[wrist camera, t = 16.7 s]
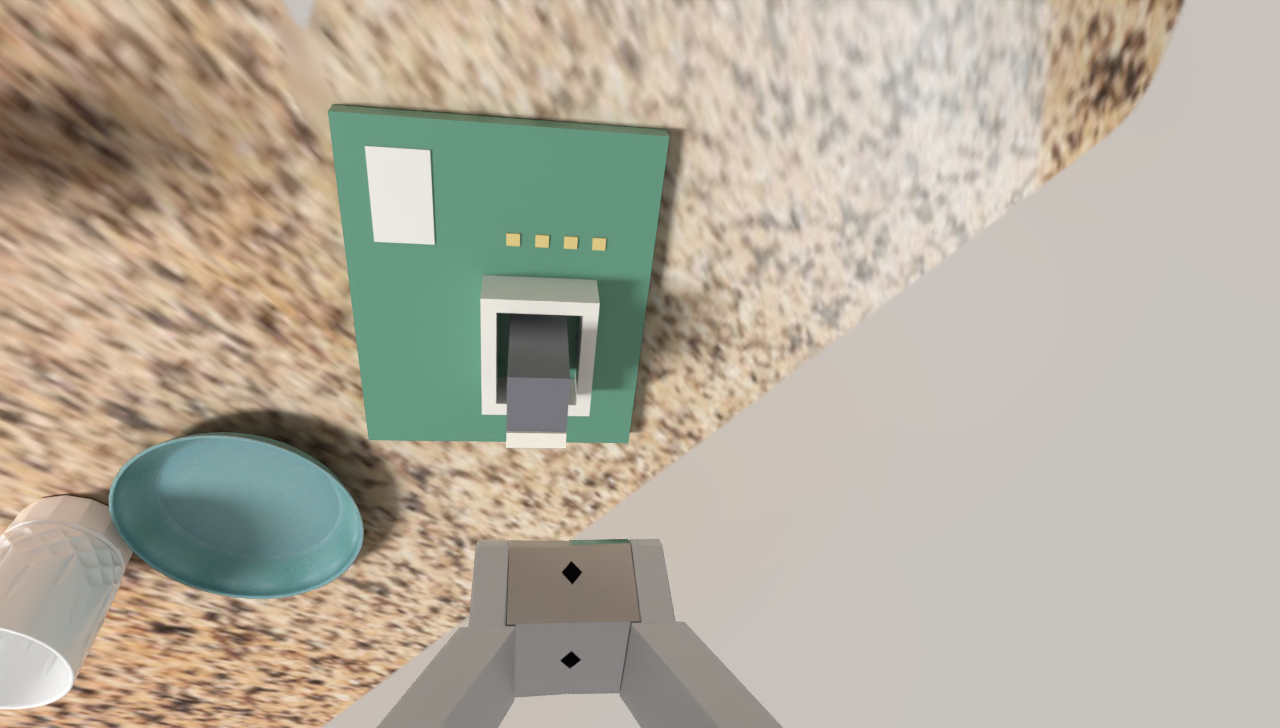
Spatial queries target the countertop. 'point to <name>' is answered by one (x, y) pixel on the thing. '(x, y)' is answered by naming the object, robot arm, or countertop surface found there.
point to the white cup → (54, 595)
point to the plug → (537, 381)
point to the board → (493, 262)
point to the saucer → (236, 515)
